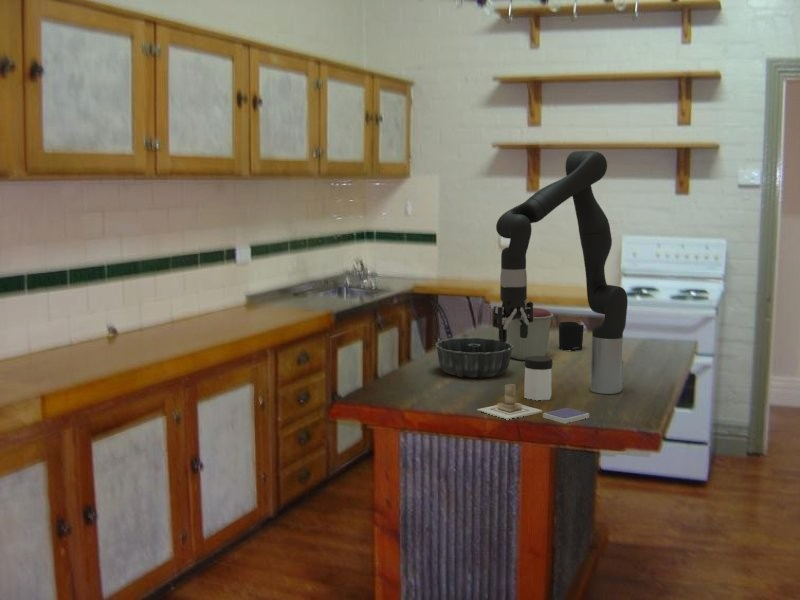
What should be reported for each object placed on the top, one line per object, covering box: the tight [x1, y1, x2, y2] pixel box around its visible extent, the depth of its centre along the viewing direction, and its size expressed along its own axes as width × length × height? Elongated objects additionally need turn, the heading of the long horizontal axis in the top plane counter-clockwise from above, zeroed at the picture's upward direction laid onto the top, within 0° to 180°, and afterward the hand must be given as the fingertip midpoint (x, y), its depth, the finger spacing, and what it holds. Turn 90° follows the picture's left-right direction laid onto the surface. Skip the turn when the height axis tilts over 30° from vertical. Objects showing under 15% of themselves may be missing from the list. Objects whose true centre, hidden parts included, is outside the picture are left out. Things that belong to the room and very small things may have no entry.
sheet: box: [476, 404, 543, 421], centre depth 264 cm, size 14×12×1 cm
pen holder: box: [558, 321, 585, 352], centre depth 358 cm, size 9×9×10 cm
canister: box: [505, 300, 554, 361], centre depth 339 cm, size 18×18×21 cm
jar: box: [523, 356, 554, 402], centre depth 281 cm, size 9×8×12 cm
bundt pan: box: [435, 337, 514, 379], centre depth 314 cm, size 26×26×10 cm
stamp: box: [497, 383, 523, 413], centre depth 264 cm, size 5×5×7 cm
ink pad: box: [542, 407, 590, 424], centre depth 258 cm, size 10×8×1 cm
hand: (513, 339), depth 268 cm, fingers open, 8 cm apart
